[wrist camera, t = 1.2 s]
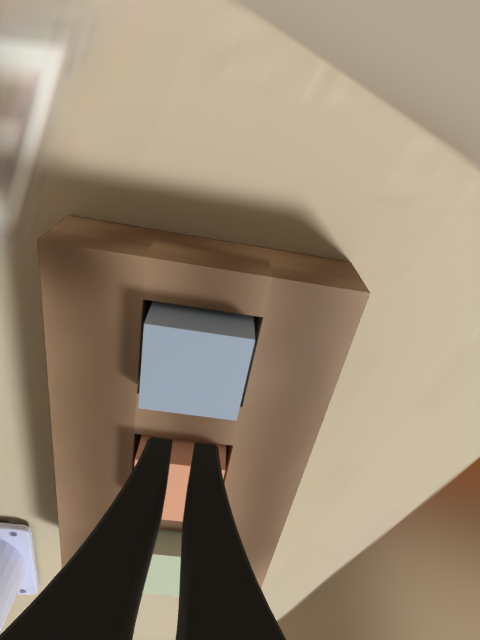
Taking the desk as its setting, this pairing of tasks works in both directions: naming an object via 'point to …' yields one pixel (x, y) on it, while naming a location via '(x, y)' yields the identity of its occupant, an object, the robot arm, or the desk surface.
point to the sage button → (165, 565)
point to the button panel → (126, 354)
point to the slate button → (195, 360)
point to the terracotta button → (179, 474)
